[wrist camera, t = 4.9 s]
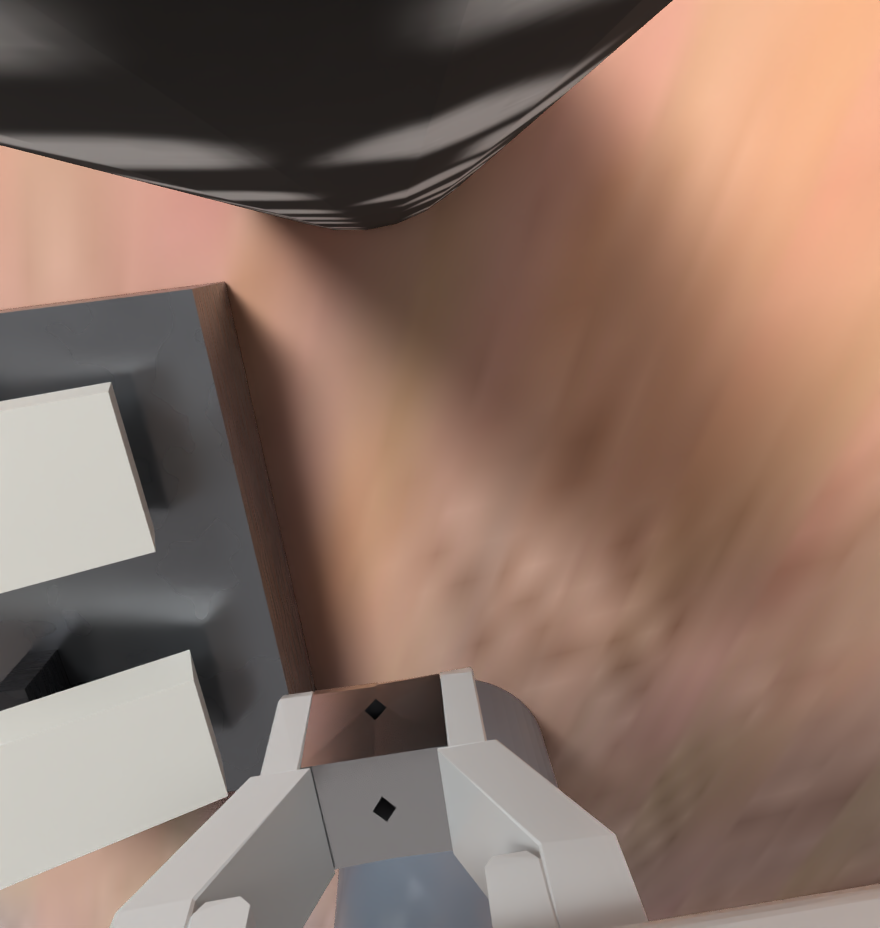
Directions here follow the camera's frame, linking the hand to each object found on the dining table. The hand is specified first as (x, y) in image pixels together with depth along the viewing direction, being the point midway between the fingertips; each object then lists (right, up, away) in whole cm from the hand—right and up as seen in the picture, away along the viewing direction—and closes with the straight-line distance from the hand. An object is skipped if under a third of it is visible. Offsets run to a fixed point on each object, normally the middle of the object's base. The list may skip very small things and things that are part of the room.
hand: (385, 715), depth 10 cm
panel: (-9, +2, +9) cm, 13 cm away
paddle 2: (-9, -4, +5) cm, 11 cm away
